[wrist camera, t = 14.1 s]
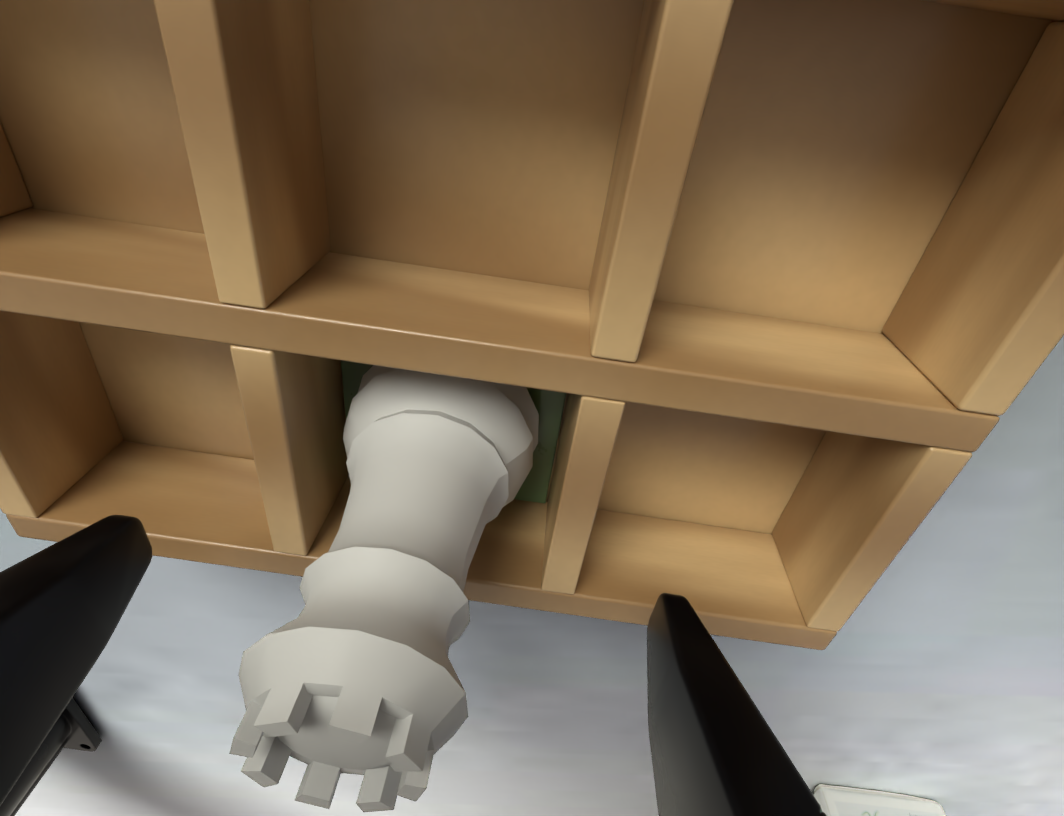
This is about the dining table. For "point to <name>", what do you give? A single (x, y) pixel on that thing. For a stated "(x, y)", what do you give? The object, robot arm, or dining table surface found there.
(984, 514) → the dining table surface
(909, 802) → the syrup box
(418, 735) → the rook chess piece
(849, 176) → the rack
